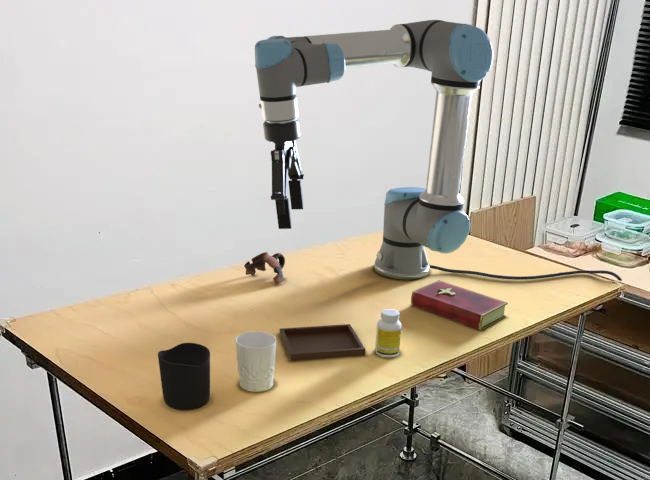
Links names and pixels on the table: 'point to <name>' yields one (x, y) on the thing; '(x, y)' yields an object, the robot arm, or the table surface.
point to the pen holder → (185, 376)
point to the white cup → (256, 360)
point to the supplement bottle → (388, 334)
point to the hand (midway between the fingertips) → (291, 218)
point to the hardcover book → (459, 304)
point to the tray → (321, 342)
